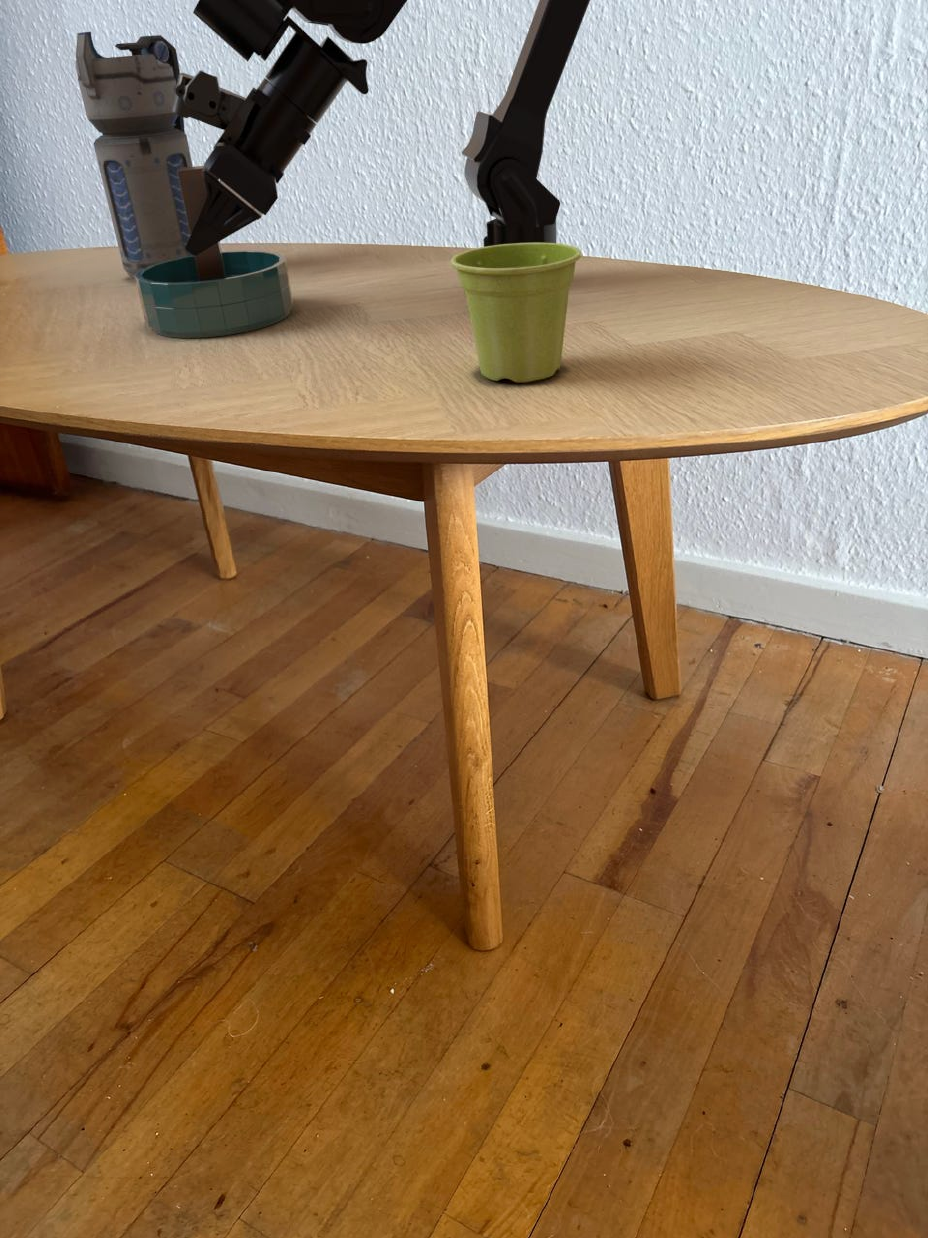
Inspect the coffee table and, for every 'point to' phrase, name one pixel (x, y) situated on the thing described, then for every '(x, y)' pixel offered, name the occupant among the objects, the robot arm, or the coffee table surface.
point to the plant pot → (518, 306)
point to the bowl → (215, 295)
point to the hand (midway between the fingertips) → (193, 243)
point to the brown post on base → (194, 198)
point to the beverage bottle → (138, 146)
